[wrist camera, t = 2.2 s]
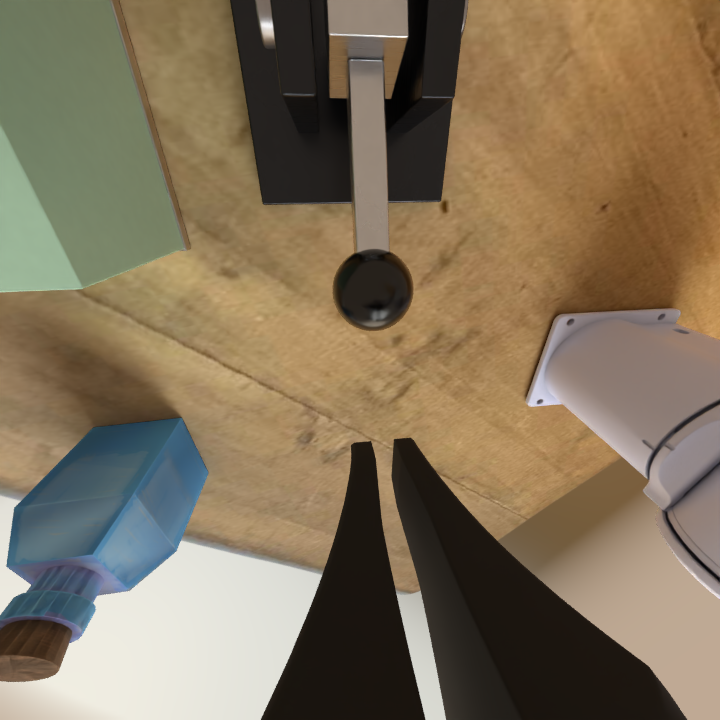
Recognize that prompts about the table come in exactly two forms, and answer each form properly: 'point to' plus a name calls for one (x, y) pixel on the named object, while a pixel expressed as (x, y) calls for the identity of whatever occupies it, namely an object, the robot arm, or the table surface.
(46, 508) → the perfume bottle
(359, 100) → the switch lever
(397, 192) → the switch bracket
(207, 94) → the table surface
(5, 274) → the toaster body
